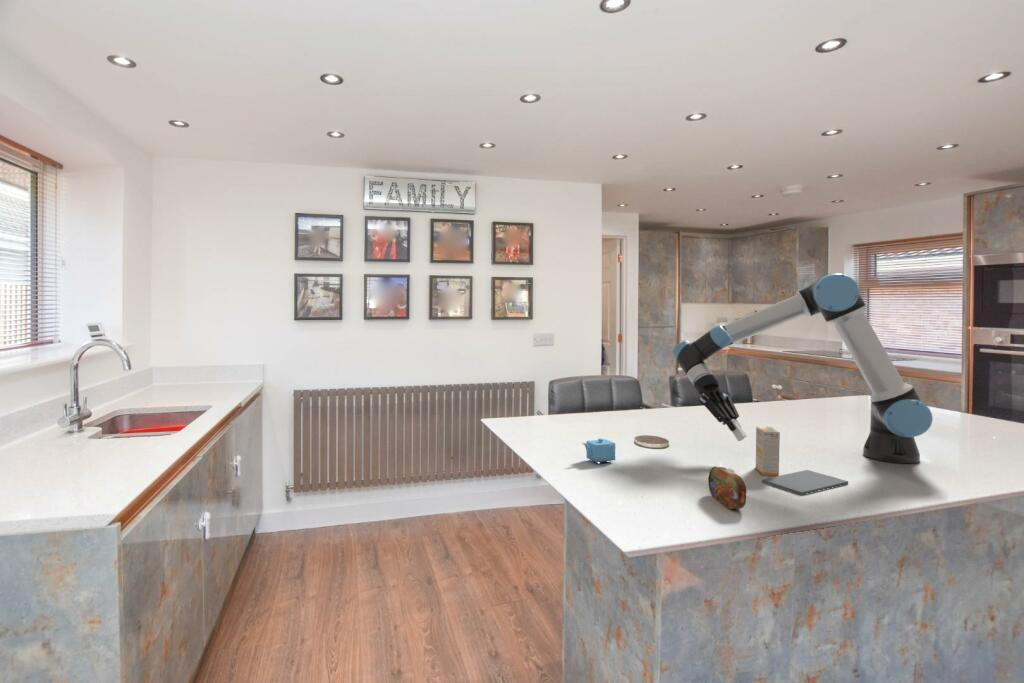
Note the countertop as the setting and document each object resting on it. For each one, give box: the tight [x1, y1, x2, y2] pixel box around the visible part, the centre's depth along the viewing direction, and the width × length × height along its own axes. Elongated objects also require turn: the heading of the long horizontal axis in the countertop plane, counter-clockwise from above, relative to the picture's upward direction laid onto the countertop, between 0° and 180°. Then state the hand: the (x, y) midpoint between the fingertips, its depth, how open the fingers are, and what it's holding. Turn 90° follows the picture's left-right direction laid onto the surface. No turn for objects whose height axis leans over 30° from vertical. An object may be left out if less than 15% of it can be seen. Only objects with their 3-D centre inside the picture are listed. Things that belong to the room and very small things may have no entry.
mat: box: [761, 469, 849, 496], centre depth 146 cm, size 20×12×1 cm, turn 116°
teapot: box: [581, 438, 616, 463], centre depth 168 cm, size 12×6×8 cm, turn 111°
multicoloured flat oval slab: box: [707, 466, 748, 510], centre depth 130 cm, size 15×3×8 cm, turn 5°
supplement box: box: [755, 426, 781, 477], centre depth 156 cm, size 8×5×13 cm, turn 168°
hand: (742, 438), depth 164 cm, fingers closed
